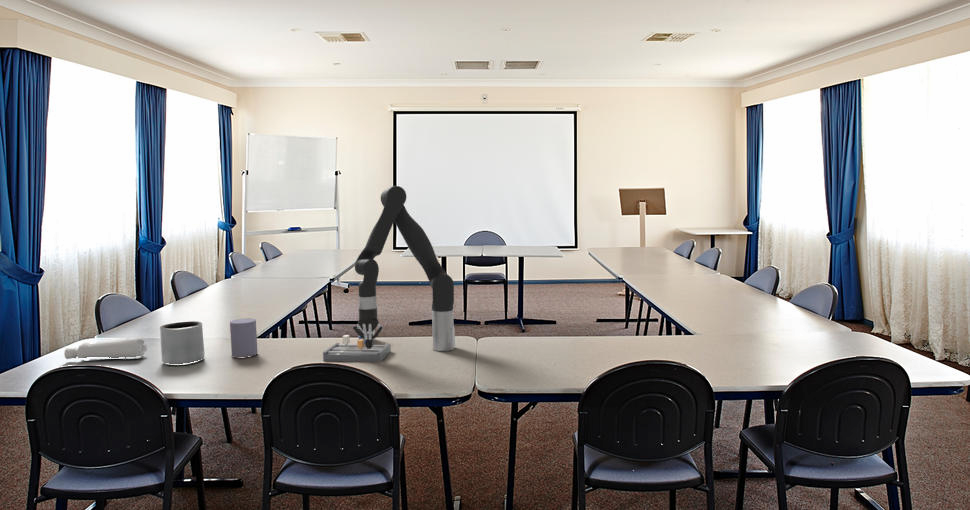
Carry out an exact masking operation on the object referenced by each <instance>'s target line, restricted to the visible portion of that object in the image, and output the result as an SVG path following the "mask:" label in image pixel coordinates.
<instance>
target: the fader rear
mask: <svg viewBox="0 0 970 510" xmlns="http://www.w3.org/2000/svg"><path fill="white" fill-rule="evenodd" d="M350 342H351V341H350V334H344V335H342V345H345V347H348V345H349V344H350Z"/></svg>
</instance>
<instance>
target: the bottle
mask: <svg viewBox="0 0 970 510" xmlns="http://www.w3.org/2000/svg"><path fill="white" fill-rule="evenodd" d="M147 349H148V346H147V344H146V343H145V339H144V338H142V337H140V336H139V337H128V338H123V339H116V340H108V341H99V342H98V341H97V342H93V343H91V342H84V343H82V344H80V345H79V346H78V347H74V348H73V347H67V348H65V349H64V353H63V354H64V358H65V359H66V360H70V359H77V358H78V359H79V358H87V357H109V358H110V357H111V358H119V357H125V358H126V357H136V356H142V355H144V354H145V353H146V352H147V351H148V350H147ZM76 357H77V358H76Z"/></svg>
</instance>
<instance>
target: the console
mask: <svg viewBox="0 0 970 510" xmlns="http://www.w3.org/2000/svg"><path fill="white" fill-rule="evenodd" d="M391 352H392V351H391V343H387V344H373V347H372V348H371V349H367V347H366V346H365V347H364V348H363V352H360V348H358V344H348V347H345V344H340V342H336V343H335V344H333V345H331V346H330V347H328V348H326V350H325V351H323V352H322V359H323V361H325V362H326V361H328V362H373V363H374V362H375V363H376V362H382V361H383V360H384V359H385V358H386V357H387V356H388V355H389V354H390V353H391Z"/></svg>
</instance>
